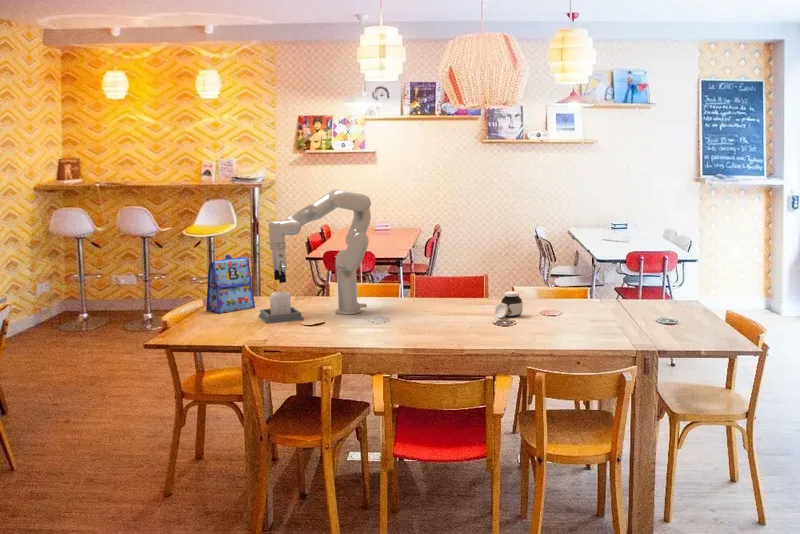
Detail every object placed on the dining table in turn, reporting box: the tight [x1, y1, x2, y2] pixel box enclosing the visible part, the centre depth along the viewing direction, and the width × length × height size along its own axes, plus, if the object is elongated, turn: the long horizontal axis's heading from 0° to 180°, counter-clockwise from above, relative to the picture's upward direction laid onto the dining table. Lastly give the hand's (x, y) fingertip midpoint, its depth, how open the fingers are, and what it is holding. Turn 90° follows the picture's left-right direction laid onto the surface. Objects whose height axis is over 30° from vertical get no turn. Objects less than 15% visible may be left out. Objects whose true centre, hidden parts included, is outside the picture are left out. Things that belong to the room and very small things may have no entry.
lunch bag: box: [205, 254, 256, 314], centre depth 443 cm, size 22×14×29 cm, turn 131°
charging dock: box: [258, 306, 304, 325], centre depth 420 cm, size 18×18×4 cm
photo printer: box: [269, 290, 292, 315], centre depth 419 cm, size 10×4×12 cm, turn 121°
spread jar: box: [494, 290, 524, 319], centre depth 411 cm, size 12×11×12 cm
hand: (280, 281), depth 417 cm, fingers open, 9 cm apart
